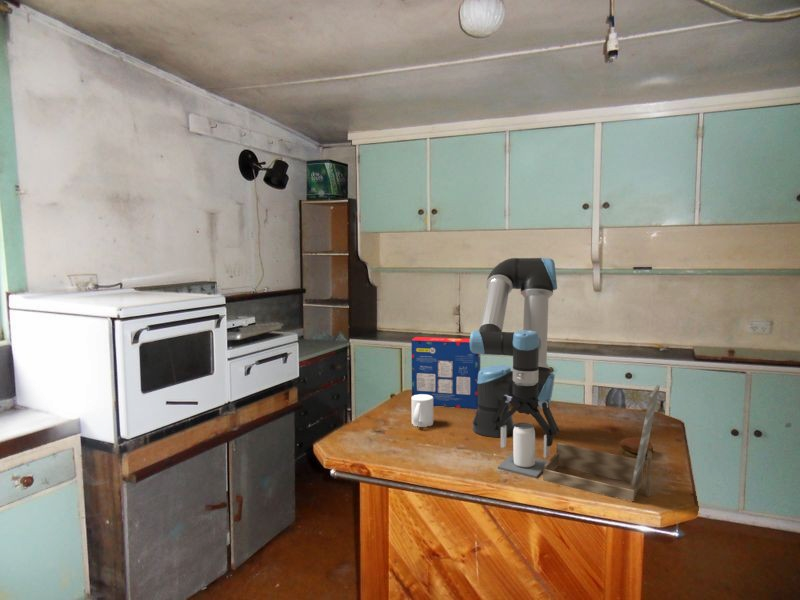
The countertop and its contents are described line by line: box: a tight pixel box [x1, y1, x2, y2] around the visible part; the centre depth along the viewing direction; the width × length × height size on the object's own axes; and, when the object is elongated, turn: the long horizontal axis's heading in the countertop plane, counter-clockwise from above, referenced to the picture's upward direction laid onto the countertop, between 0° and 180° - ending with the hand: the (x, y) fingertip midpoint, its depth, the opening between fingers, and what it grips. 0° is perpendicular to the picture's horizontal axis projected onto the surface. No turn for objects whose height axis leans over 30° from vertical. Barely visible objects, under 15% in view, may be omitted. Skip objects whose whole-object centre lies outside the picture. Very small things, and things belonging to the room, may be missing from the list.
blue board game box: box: [411, 336, 481, 410], centre depth 220 cm, size 28×8×28 cm, turn 76°
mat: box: [497, 453, 549, 479], centre depth 159 cm, size 12×12×1 cm
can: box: [512, 422, 536, 468], centre depth 158 cm, size 6×6×12 cm
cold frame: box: [542, 384, 661, 502], centre depth 145 cm, size 28×12×29 cm, turn 55°
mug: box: [410, 394, 434, 428], centre depth 196 cm, size 8×10×12 cm
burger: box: [619, 437, 655, 459], centre depth 167 cm, size 10×9×5 cm
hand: (524, 451), depth 158 cm, fingers open, 13 cm apart
